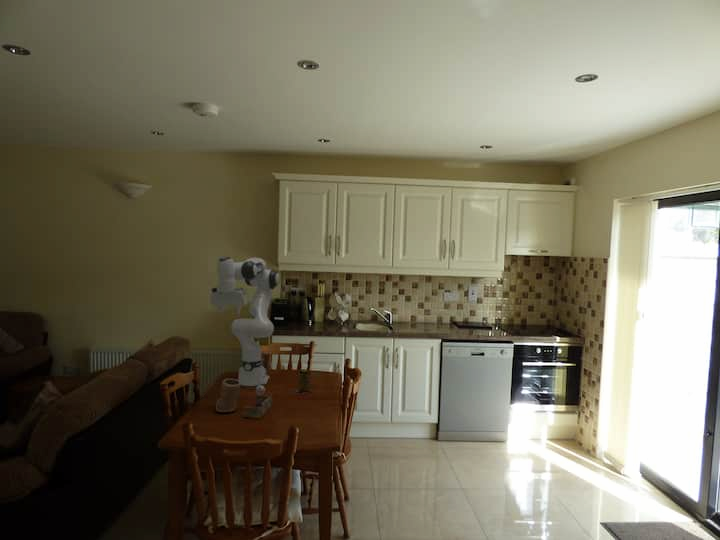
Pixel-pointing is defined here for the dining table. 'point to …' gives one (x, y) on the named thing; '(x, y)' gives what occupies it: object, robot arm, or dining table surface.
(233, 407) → the stone cup
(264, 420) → the dining table surface
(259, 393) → the cradle
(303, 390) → the condiment
